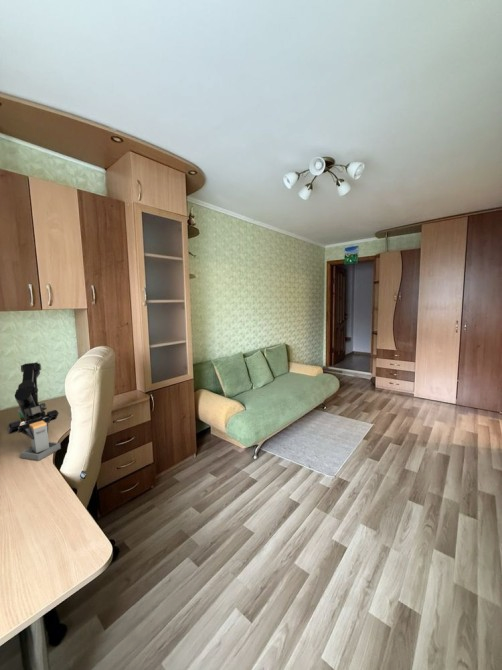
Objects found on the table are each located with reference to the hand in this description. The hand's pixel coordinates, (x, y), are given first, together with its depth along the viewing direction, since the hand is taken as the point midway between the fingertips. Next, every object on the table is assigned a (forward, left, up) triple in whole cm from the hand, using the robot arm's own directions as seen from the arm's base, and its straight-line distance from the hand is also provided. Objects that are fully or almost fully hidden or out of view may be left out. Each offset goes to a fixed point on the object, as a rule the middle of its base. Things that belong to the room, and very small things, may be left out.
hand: (40, 436), depth 124 cm
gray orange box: (-1, 0, -7) cm, 7 cm away
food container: (-41, +27, -9) cm, 50 cm away
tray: (-1, 0, -9) cm, 9 cm away
